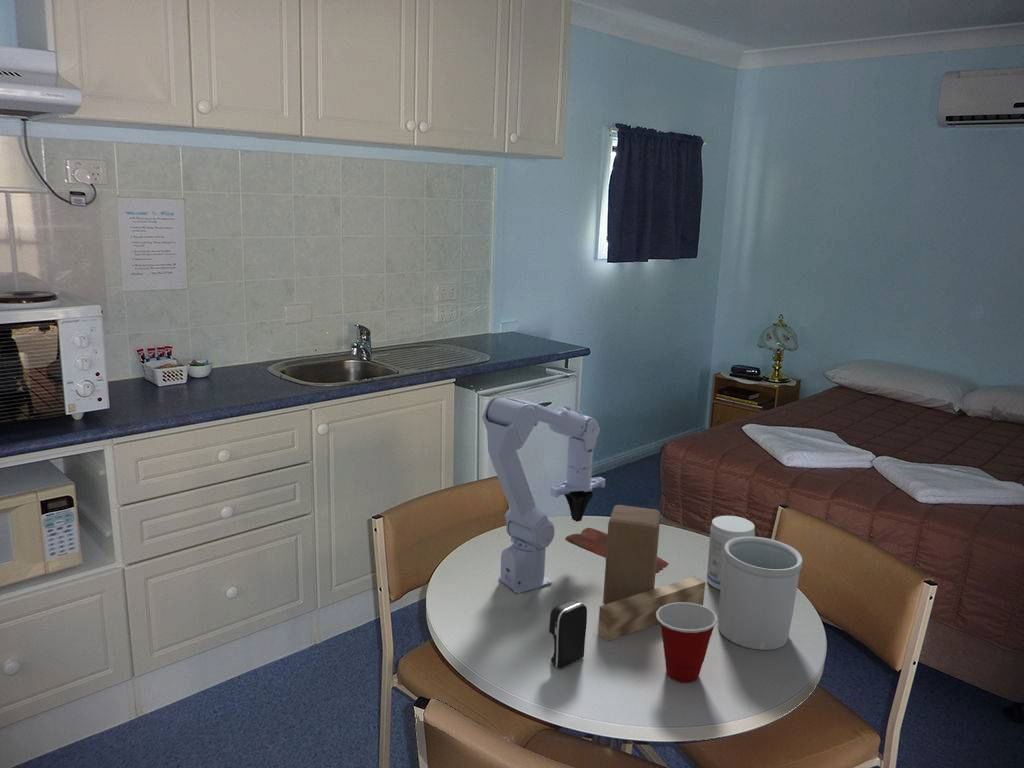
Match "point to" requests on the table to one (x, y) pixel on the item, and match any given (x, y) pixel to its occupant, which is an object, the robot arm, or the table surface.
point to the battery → (568, 632)
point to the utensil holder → (758, 592)
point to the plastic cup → (685, 638)
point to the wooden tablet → (600, 544)
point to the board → (646, 607)
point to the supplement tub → (719, 536)
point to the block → (631, 552)
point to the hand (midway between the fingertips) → (576, 519)
